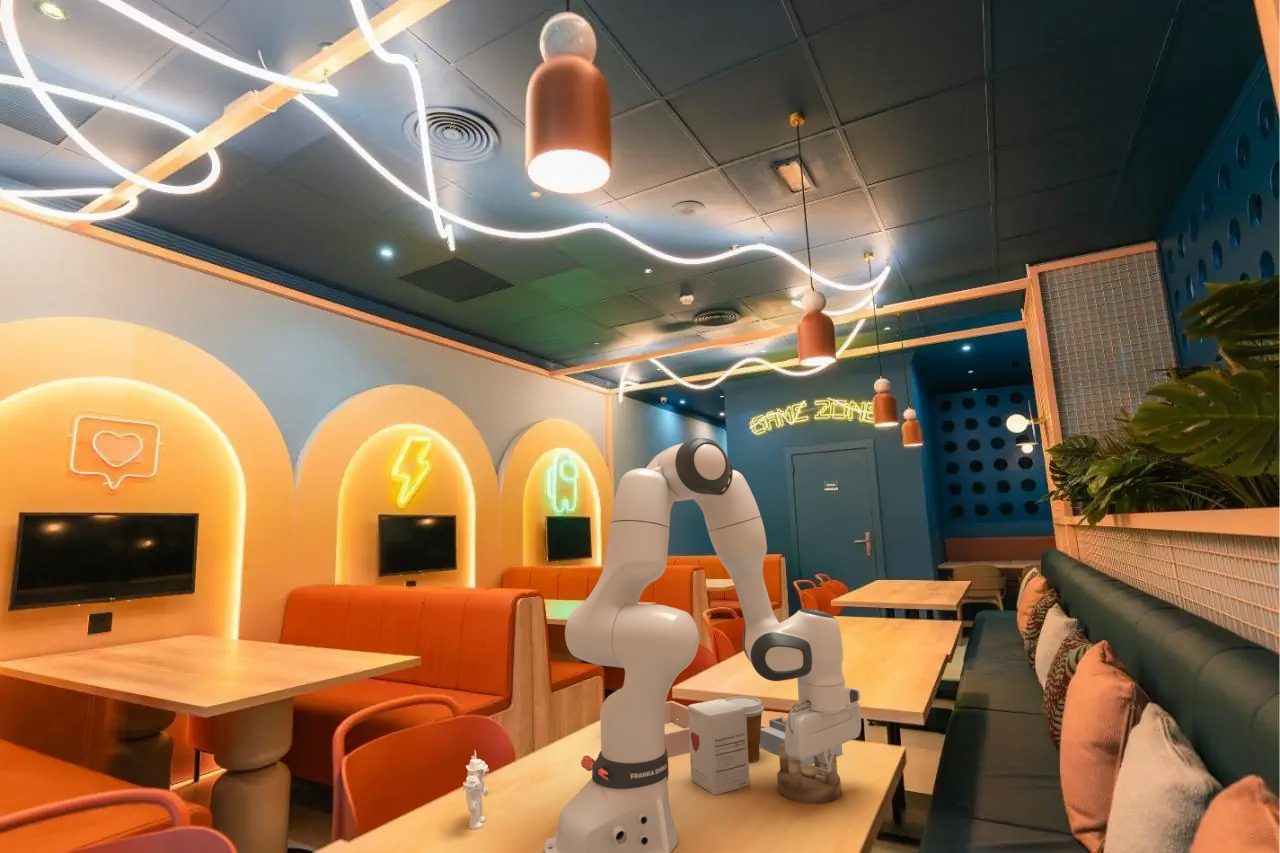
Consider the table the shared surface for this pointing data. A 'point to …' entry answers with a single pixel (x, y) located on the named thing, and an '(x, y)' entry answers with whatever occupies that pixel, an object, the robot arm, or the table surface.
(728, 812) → the table surface
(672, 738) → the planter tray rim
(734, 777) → the supplement box
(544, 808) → the table surface
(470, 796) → the flower shoulder figurine
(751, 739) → the disposable coffee cup
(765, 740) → the stand
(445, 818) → the table surface
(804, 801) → the dial
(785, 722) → the indicator ball
